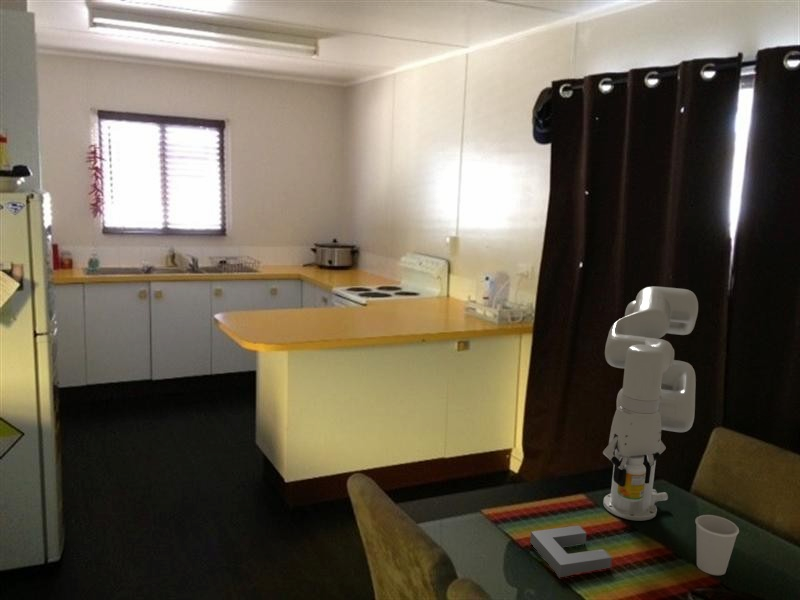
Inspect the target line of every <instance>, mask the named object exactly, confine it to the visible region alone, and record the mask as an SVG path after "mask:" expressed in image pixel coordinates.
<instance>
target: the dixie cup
mask: <svg viewBox="0 0 800 600" xmlns="http://www.w3.org/2000/svg"><path fill="white" fill-rule="evenodd" d="M694 522H695V524H696V527H695V528H696V532H695V533H696V536H695V537H696V566H697V567H698V569H699V570H701V571H702V572H704V573H706V574H709V575H711V576H722V575H725V574H726V572H727V568H728V567H729V561H730V559H731V555H732V552H733V549H734V546H735V543H736V539H737V536H738V534H739V533H740V530H739V527H738V526H737V524H736V523H734V522H733V521H731V520H729V519H727V518H725V517H722V516H719V515H713V514H703V515H699V516H696V518H695V521H694Z"/></svg>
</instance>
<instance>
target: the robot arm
mask: <svg viewBox="0 0 800 600" xmlns="http://www.w3.org/2000/svg"><path fill="white" fill-rule="evenodd" d="M698 313H699V301H698V298H697V296H696V294H695V293H694V292H693V291H691V290H689V289H686V288H679V287H678V288H676V287H669V286H668V287H667V286H666V287H665V286H653V285H652V286H646V287H644V288H642V289H641V290H640V291H639V292H638V293H637V295H636V297H635V300H633V301H631V302H629V303H628V304H627V306H626V308H625V312H624V316H623V317H622V318H619V319H618V320H616V321H614V323H613V324H612V326H610V329H609V331H608V335H607V339H606V342H605V349H604V357H605V361H606V362H607V364H608V365H610V366H611V367H614V368H617V369H624V370H623V371H624V372H623V381H622V388H620V390H619V391H618V393H617V397H616V403H615V404H616V410H615V412H614V415H613V417H612V423H611V427H610V432H609V433H610V434H609V440H608V445H607V446H606V448H604V449H603V451H602V454H603V455H604V456H605V457H606V458H607V459H608V460H609V461H610V462H611V463H612V465H613V468H612V478H611V487H610V488H611V489H610V493H608V494H607V495H605V496H604V497H603V501H602V502H603V506H604V508H605V509H606V511H608V512H609V513H611V514H612V515H614V516H616V517H619V518H621V519H625V520H630V521H635V522H637V521H638V522H639V521H640V522H641V521H649V520H652V519H653V518H655V517H656V515H657V511H658V508H657V506H656V505H655V504H656V503H657V502H662V501H668V499H669V495H668V493H667V492H664V491H663V492H657V490H656V489H655V488H653V487H654V480H655V470H656V463H657V459H658V458H659V457H660V455H662V453H663V452H664V451H666V449H667V448H666V445H665V444H664V443H663V441H662V440H661V439H662V438H661V437H662V431H668V432H675V433H685V432H688V431H689V430H691V428H692V427H693V424H694V421H695V411H696V381H697V379H696V372H695V369H694V368H693V365H691V364H690V363H689V362H686V361H682V360H676V359H675V348H673V346H672V344H671V343H670V342H669V341H668V340H665V339H662V337H664V336H665V335H666V334H670V335H680V336H685V335H690V334H691V333H692V331H693V330H694V328H695V325H696V321H697V318H698ZM640 455H644V462H643V465H644V466H645V467H646V475H645V484H644V493H643V498H642V500H640V501H637V502H630V501H626V500H624V499H622V498H620V497H619V496H618V494H617V488H618V484H619V485H620V486H621V487H623V486H625V479H626V469H624V467H625V465H626V462H627V460H628V457H631V456H640Z"/></svg>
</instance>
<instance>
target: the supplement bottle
mask: <svg viewBox="0 0 800 600" xmlns="http://www.w3.org/2000/svg"><path fill="white" fill-rule="evenodd" d="M643 462H644V455H640V456H631V457H628V460H627V462H626V465H625V467H624V469H626V479H625V486H623V487H621V486H620V485H619V484H618V488H617V494H618V496H619V497H620V498H622V499H624V500H626V501H630V502H637V501H640V500H642V498H643V493H644V484H645V475H646V467H645V466H644V465H643Z"/></svg>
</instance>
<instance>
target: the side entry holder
mask: <svg viewBox="0 0 800 600" xmlns="http://www.w3.org/2000/svg"><path fill="white" fill-rule="evenodd" d="M529 541H530V542H529V544H530V543H531V544H532V545H533V547H534V548H535V549H536V550H537V551H538V553H539V554H540V555H541V556H542V557H543V558H544V559H545V561H546V562H547V563H548V564H549V565H550V566H551V568H552V569H553V570H554V571H555V573H556V574H557V575H556V574H555V575H556V576H557V577H558V579H561V578H560V577H564V576H569V575H573V574H576V573H582V572H587V571H593V570H599V569H606V568H610V567H611V568H612V559H613V558H612V556H611V555H610V554H609V553H608V552H607V551H606V550H605V549H604V548H599V549H592V550H587V551H579V552H573V553H571V552H570V553H568V552H567V551H566V550H565V549H564V548H562V547H563V546H570V545H576V544H582V543H587V542H586V541H587V532H586V531H585V529H583V528H582V527H581V526H580V525H570V526H563V527H556V528H550V529H542V530H540V529H539V530H533V531H530V540H529ZM531 544H530V545H531ZM533 547H532V548H533ZM534 548H533V549H534ZM535 549H534V550H535ZM536 550H535V551H536ZM537 551H536V552H537ZM538 553H537V554H538ZM539 554H538V555H539ZM540 555H539V556H540ZM541 556H540V557H541ZM542 557H541V558H542ZM545 561H544V562H545ZM546 562H545V563H546ZM547 563H546V564H547ZM548 564H547V565H548ZM551 568H550V569H551ZM552 569H551V570H552ZM553 570H552V571H553ZM554 571H553V572H554Z"/></svg>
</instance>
